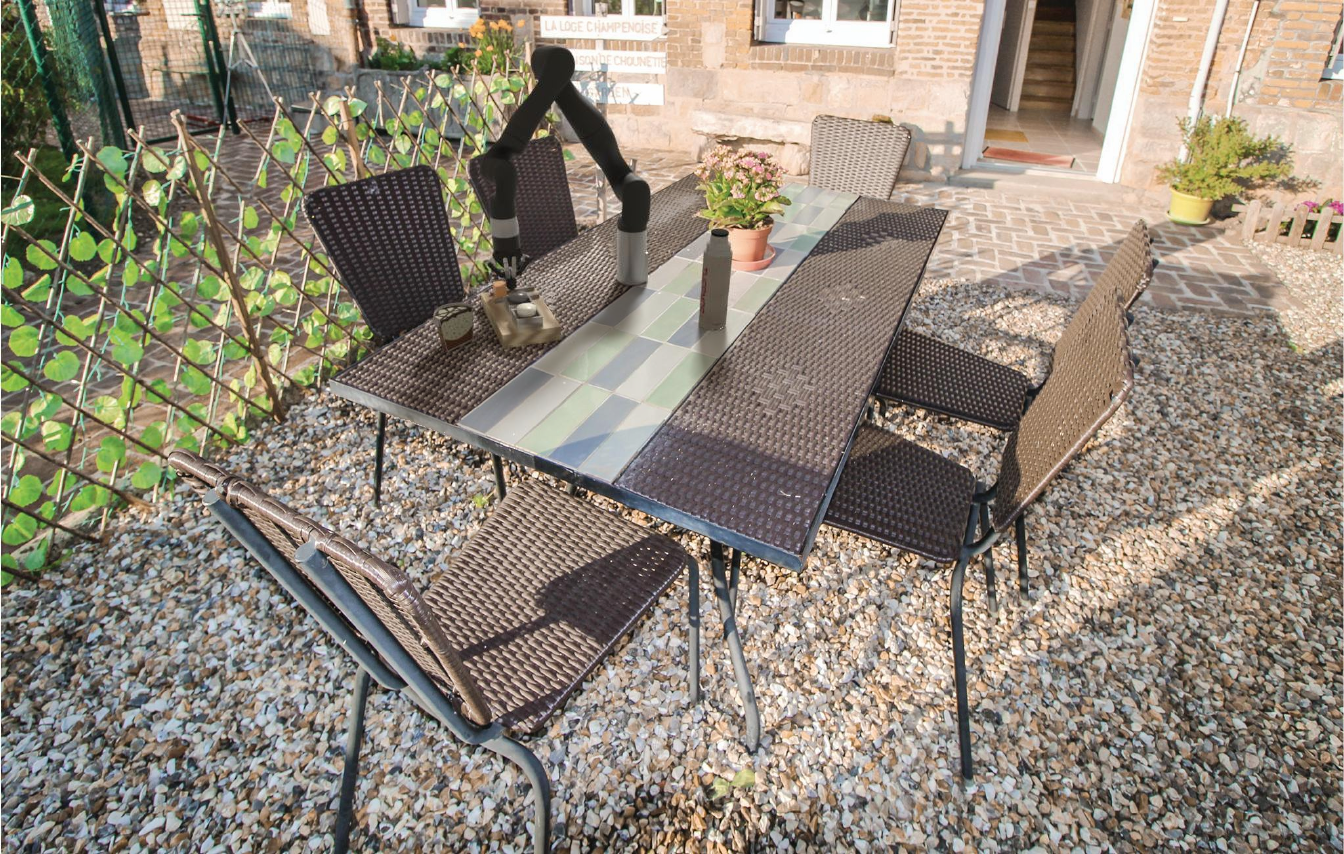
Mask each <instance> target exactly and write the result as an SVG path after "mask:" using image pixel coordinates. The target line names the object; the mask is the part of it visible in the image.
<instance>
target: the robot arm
mask: <svg viewBox="0 0 1344 854" xmlns="http://www.w3.org/2000/svg"><path fill="white" fill-rule="evenodd" d="M530 68H531V71H532V72H533V75H534V77H535V79H536V80H537V82H536V84H535V86H534V88H533V89H532V90H531V92H530V93H529V94H528V96H526V98H525V99H524V100H523V102H521V104H520V105H519V106H518V107H517V108H516V109H515V110H514V112H513V114H512V115H511V116H510V118H509V120H508V122H507V123H506V125H505V128H503V131H502V133H501V135H500V137H499V138H498V139H497V140H496V141H495V142H494V144H493V145H491V147H490V148H489V149H487V151H486V153H485V154H484V155H483V156H482V159H481V161H480V164H479V174H480V177H481V178H482V180H484V181H485V182H487V183H489V184H492V185H495V192H493V193H491V194H490V195H489V197H488V209H489V216H490V217H489V218H490V219H489V220H490V221H489V223H490V224H489V225H490V231H491V233H490V234H491V241H492V242H491V243H492V249H493V251H492V255H491V256H492V257H491V258H489V259H488V260H486V261H485V263H486V266H487V267H488V268H489V269H490V270H491V271H492V272H493V273H494V274H495V275H496V276H498V277H499V278H500V279H504V280H505V281H504V283H505V285H506V289H509V290H510V291H512V290H515V288H518V286H517V277H519V276H522V275H523V273H524V271H525V270H526V269H527V267H528V265H529V263H530V262H531V257H530V255H528V254H524V252H523V250H522V247H521V239H520V227H519V222H518V218H517V209H516V208H517V207H516V196H517V191H518V190H517V188H518V183H519V182H518V181H519V176H518V175H519V174H518V171H517V168H516V166H515V164H514V163H513V162H512V161H511V160H512V159H513V158H514V157H521V156H522V155H524V153H525V151H526V150H527V148H528V145H529V144H530V142H531V140H532V138H533V137H534V135H535V132H536V131H537V129H538V127H539V125H540V124H541V122H542V120H543V118H544V116H546V114H547V112H548V110H549V109H550V108H551V106H552V105H553V104H554V102H555V104H556V105H557V106H558V108H559V110H560V111H561V112H562V115H563V117H564V118H565V119H566V121H567V122H568V124H569V125H570V127H571V129H572V130H573V132H574V133H575V136H577V138H578V139H579V141H580V142H581V144H582V145H583V147H584V149H585V150H586V151H587V152H588V154H589V155H590V157H591V158H592V159H593V161H594V162H595V163H596V164H597V166H598V167H599V168H600V170H601V171H602V172H603V174H604V176H605V178H606V180H607V182H608V183H609V185H610V187H611V190H612V191H613V194H614V195H615V197H616V198H617V200H618V201H619V202H621V216H619V217H618V218H617V222H616V223H617V224H616V225H617V226H616V281H617V282H618V283H620V284H622V285H626V286H638V285H642V284H644V283H645V282H648V281H649V252H648V251H647V232H648V230H647V229H648V222H649V220H650V217H651V216H650V215H651V202H652V201H651V200H652V199H651V198H652V195H651V194H652V193H651V187H650V185H649V183H648V182H647V180H645V179H644V178H642V177H640V176H639V175H638V174H636V173H635V171H633V170H632V168H631V167H630V165H629V164H628V163H627V161H626V160H625V159H624V157H623V155H622V153H621V152H620V148H619V144H618V140H617V139H616V138H617V137H616V135H615V133H614V131H613V130H612V128H611V126H610V125H609V123H608V121H607V119H606V118H605V116H604V115H603V113H602V112H601V111H600V110H599V109H598V108H597V107H596V106H595V105H594V104H593V103H592V102H591V101H590V100H589V99H588V98H587V97H586V96H584V94H582V93H581V92H580V91H579V89H578V88H577V87H576V86H575V84H574V83H573V81H572V77H573V76H574V73H575V69H576V60H575V56H574V55H573V53H572V51H570V48H567V47H566V46H564V45H556V44H555V45H542V46H539V47H537V48H535V49H534V50H533V51H532V54H531V57H530ZM497 264H498V265H499V266H500V267H502V271H501V269H500V268H498V266H497ZM517 265H518V266H517Z"/></svg>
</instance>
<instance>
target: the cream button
mask: <svg viewBox="0 0 1344 854" xmlns="http://www.w3.org/2000/svg"><path fill="white" fill-rule="evenodd" d="M517 314H518V316H520V317H532V316H534V315H535V314H536V306H535V305H533V304H530V303H523V304H520V305H518V306H517Z"/></svg>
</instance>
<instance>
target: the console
mask: <svg viewBox="0 0 1344 854" xmlns="http://www.w3.org/2000/svg"><path fill="white" fill-rule="evenodd" d="M506 290H507V296H503V298H498V299H496V298H495V296H494V292H493V290H489V291H486V292H481V293H480V302H481V306H482V307H481V308H482V309H483V311H484V313H485V315H486V316H487V319H488V320H489V321H488V322H490V324H491V326H492V328H493V330H494V332H495V334H496V337H497V339H498V340H499V342H500V344H501V346H502V348H503V349H509V348H515V347H517V348H518V347H523V346H530V345H535V344H540V343H541V344H542V343H548V342H555V341H561V340H562V326H561V324H560V323H559V321H558V320H557V318H556V317H555V315H554V314H553V313H552V311H551V310H550V308H549V306H548V305H547V304H546V302H545V300H544V299H543V298H542V296H541V295H540V293H539V292H538V290H537V288H536V287H535V285H527V286H520V287H516V288H515V290H522V291H525V292H527V299H528V300H527V301H526V302H525V303H530V304H533V305H535V306H536V314H535V315H534V316H532V317H520V316H518V314H517V306H518V305H520V304H523V303H520V304H515V303H512V302H510V301H509V293H510V292H512V291H515V290H512V291H510V290H509V289H508V288H506Z"/></svg>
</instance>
